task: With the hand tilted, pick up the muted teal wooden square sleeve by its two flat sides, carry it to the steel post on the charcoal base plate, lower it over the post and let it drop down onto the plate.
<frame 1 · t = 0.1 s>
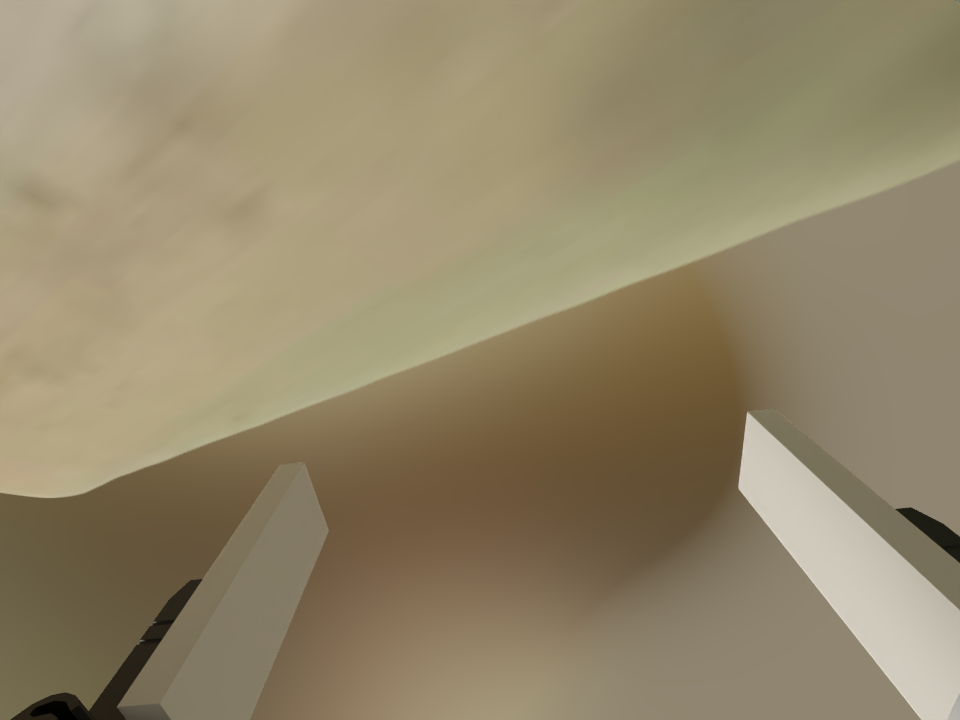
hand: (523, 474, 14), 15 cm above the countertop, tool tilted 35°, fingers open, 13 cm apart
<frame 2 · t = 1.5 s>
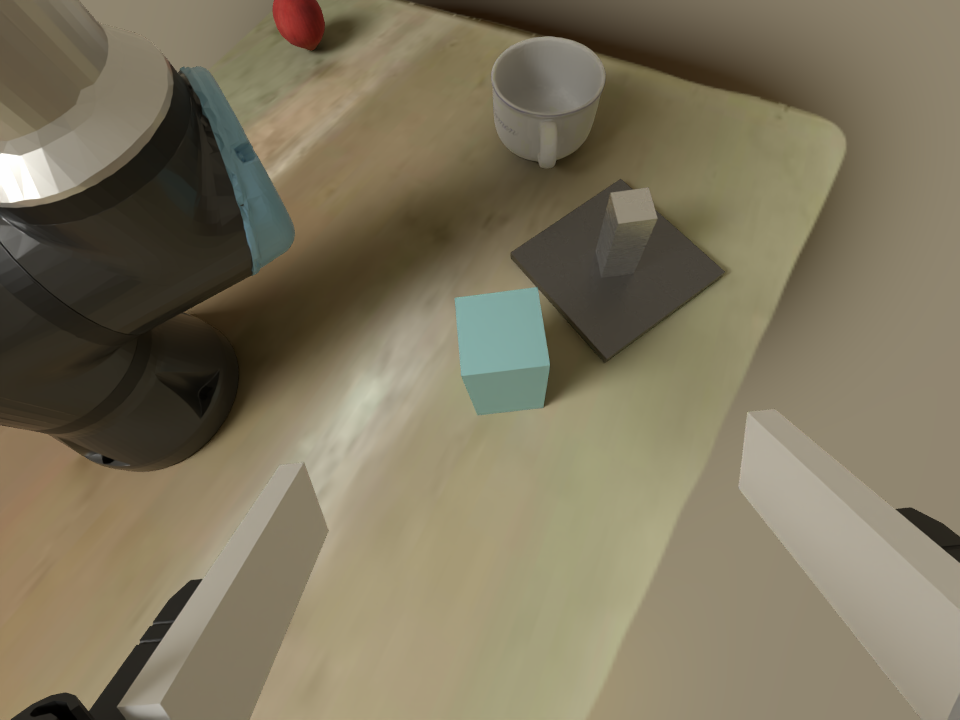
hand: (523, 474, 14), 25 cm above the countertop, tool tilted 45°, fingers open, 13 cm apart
teacup: (542, 151, 49), on the countertop
sleeve: (506, 380, 40), on the countertop
onion: (313, 50, 59), on the countertop
post: (612, 267, 43), on the countertop
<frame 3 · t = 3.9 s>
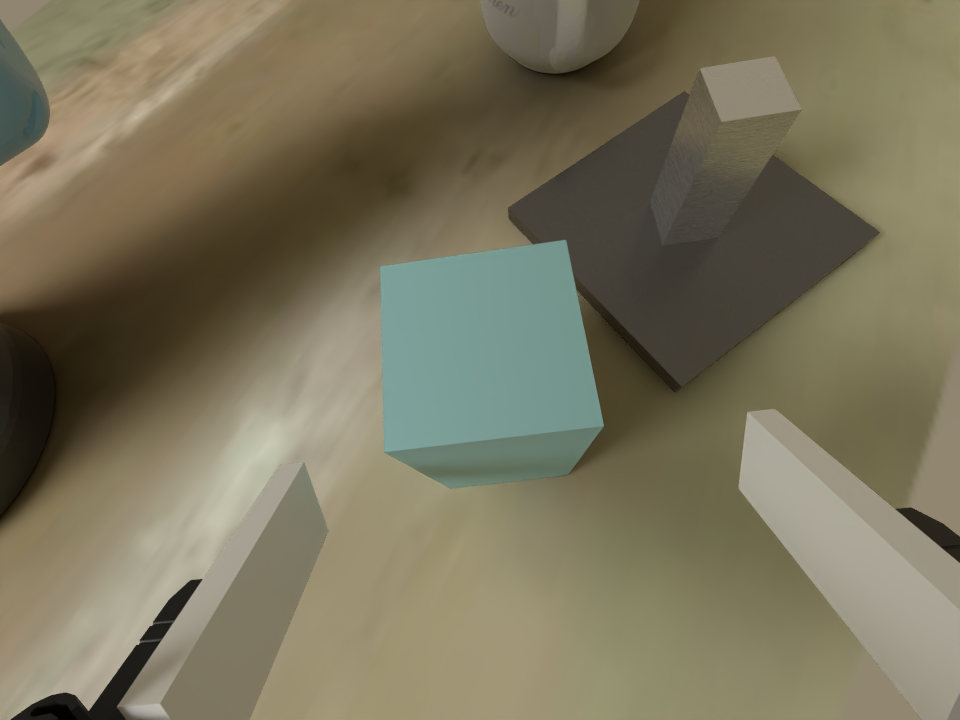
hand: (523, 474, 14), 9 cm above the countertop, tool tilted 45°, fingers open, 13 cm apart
teacup: (555, 61, 32), on the countertop
sleeve: (501, 424, 23), on the countertop
post: (677, 230, 26), on the countertop
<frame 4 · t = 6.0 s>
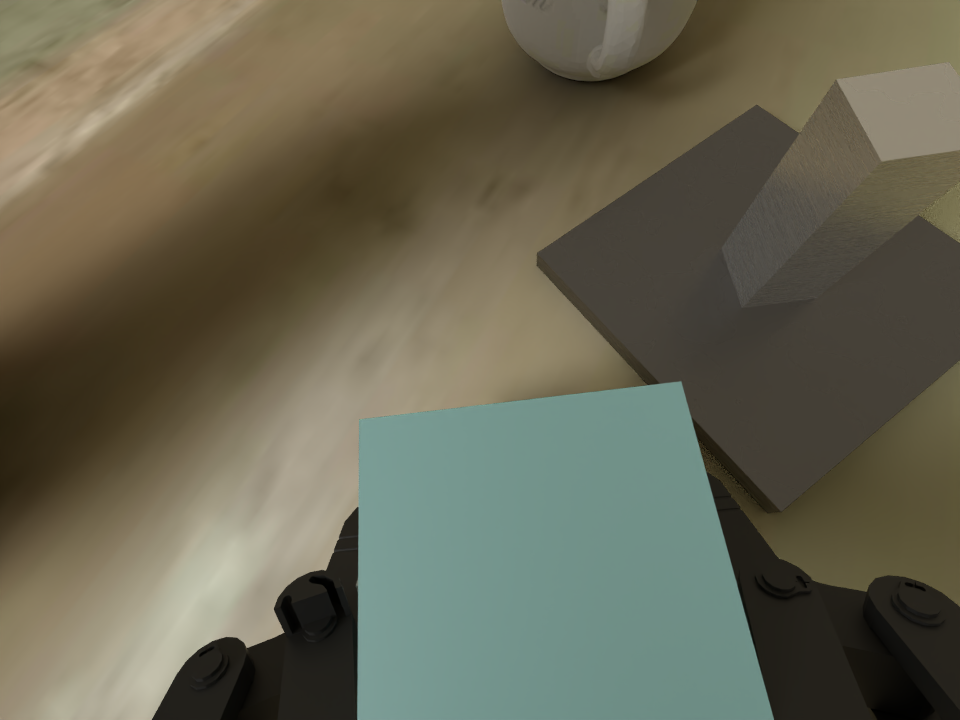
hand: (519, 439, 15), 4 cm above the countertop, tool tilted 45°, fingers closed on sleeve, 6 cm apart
teacup: (589, 66, 27), on the countertop
sleeve: (532, 551, 17), on the countertop, touching gripper
post: (755, 284, 20), on the countertop
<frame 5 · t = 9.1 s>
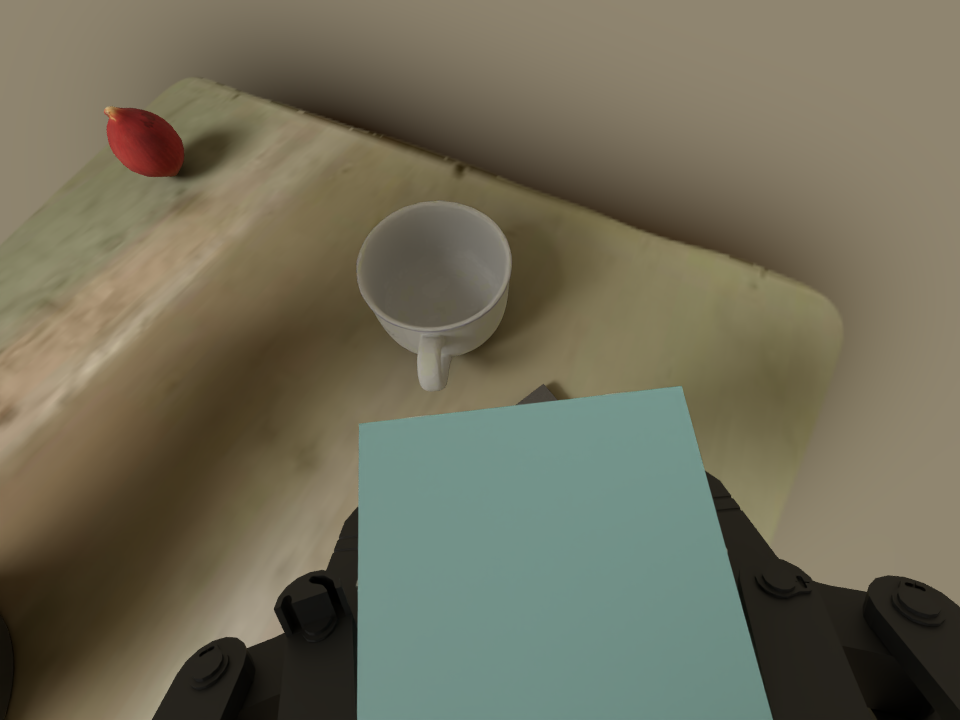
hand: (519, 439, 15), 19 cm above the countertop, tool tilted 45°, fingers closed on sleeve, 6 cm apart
teacup: (446, 330, 38), on the countertop
sleeve: (532, 554, 17), point 15 cm above the countertop, touching gripper
onion: (176, 174, 47), on the countertop
post: (529, 521, 32), on the countertop
when the fingers open (6 cm above the countertop, at t = 12.4 s): sleeve drops 2 cm, resting on post.
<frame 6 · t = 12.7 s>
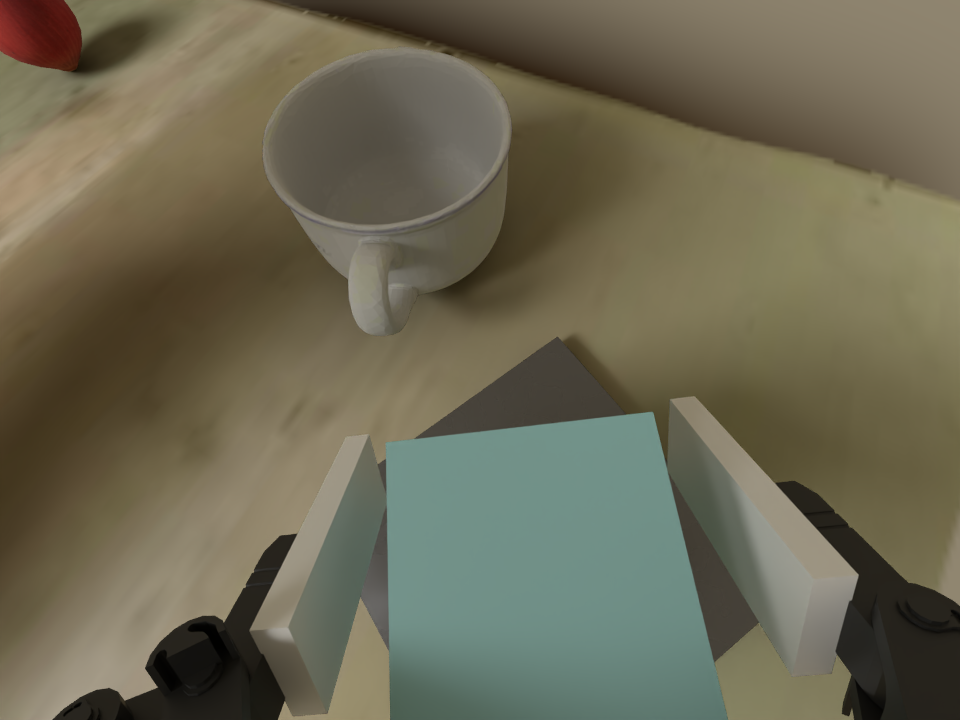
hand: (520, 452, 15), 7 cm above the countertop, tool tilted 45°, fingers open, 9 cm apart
teacup: (417, 263, 26), on the countertop
sleeve: (531, 552, 19), point 1 cm above the countertop, touching post
onion: (76, 70, 36), on the countertop
post: (532, 549, 20), on the countertop
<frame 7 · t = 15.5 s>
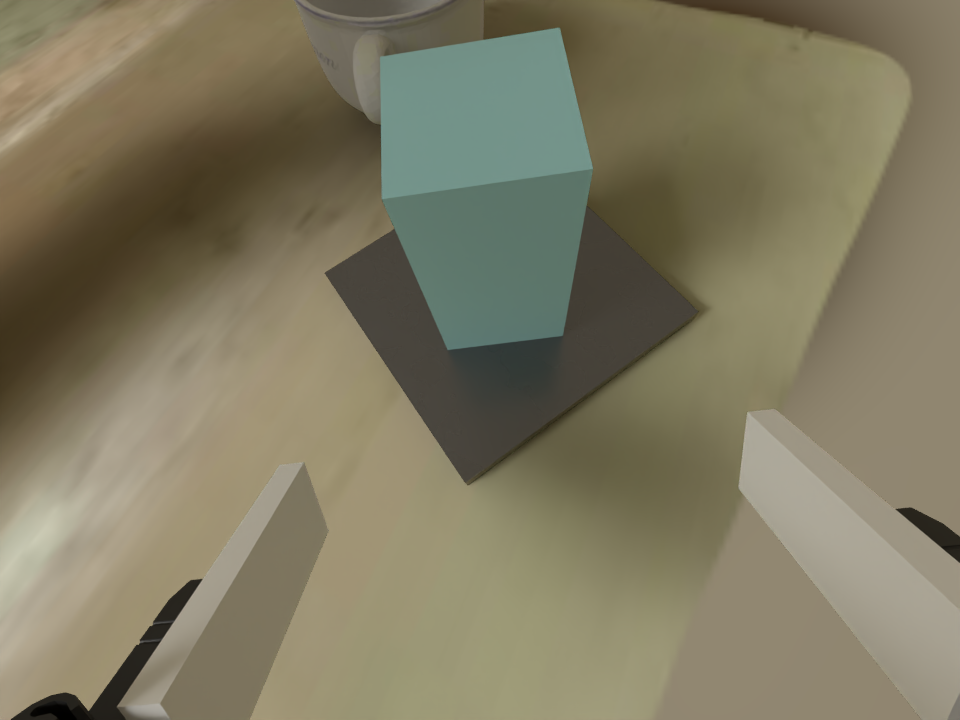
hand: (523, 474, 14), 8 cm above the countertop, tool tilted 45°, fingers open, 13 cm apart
teacup: (410, 107, 31), on the countertop
sleeve: (498, 292, 23), point 1 cm above the countertop, touching post
post: (500, 300, 24), on the countertop
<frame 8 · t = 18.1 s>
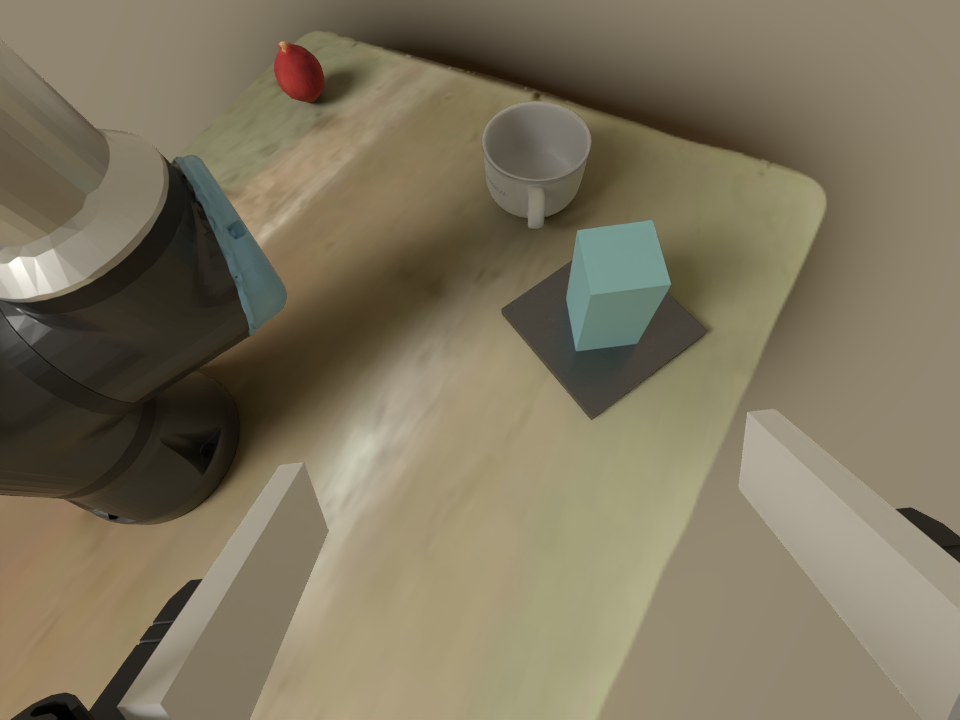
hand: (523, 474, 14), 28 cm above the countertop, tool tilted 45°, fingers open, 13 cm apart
teacup: (532, 206, 51), on the countertop
sleeve: (600, 320, 44), point 1 cm above the countertop, touching post
onion: (313, 102, 61), on the countertop
post: (599, 324, 45), on the countertop
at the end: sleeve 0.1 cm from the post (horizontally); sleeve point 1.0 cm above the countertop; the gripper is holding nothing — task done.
